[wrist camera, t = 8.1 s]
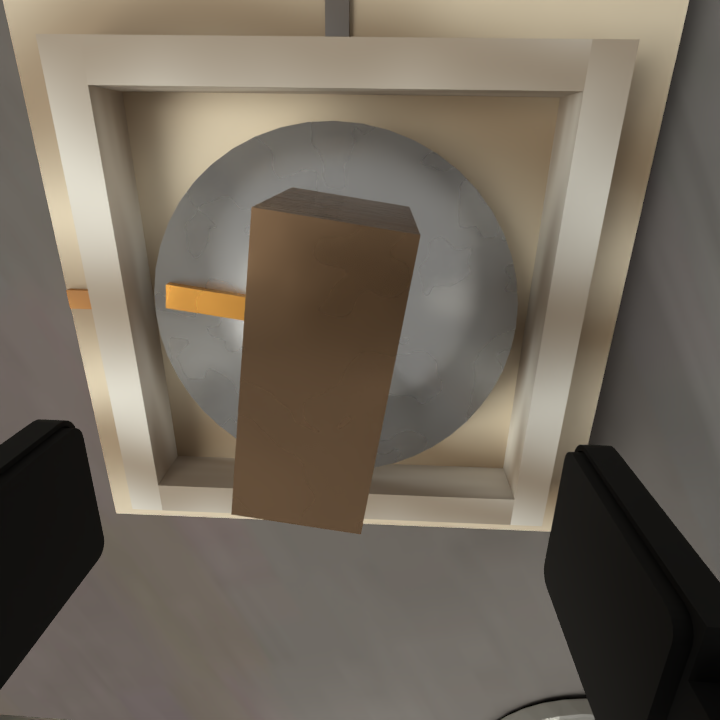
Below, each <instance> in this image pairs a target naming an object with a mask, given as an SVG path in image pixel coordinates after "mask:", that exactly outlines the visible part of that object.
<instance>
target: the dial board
mask: <svg viewBox="0 0 720 720" xmlns="http://www.w3.org/2000/svg"><path fill="white" fill-rule="evenodd" d="M3 3H4V7H5V12H6V16H7V21H8V26H9V30H10V35H11V39H12V44H13V48H14V53H15V57H16V62H17V66H18V71H19V75H20V80H21V84H22V89H23V93H24V98H25V102H26V107H27V111H28V116H29V120H30V125H31V129H32V134H33V138H34V143H35V147H36V152H37V157H38V161H39V166H40V170H41V175H42V179H43V184H44V188H45V193H46V197H47V202H48V206H49V211H50V215H51V220H52V224H53V229H54V233H55V238H56V242H57V247H58V251H59V256H60V260H61V265H62V269H63V274H64V279H65V283H66V288H67V290H66V291H67V296H68V300H69V305H70V309H71V310H72V315H73V319H74V324H75V328H76V333H77V337H78V342H79V346H80V351H81V355H82V360H83V364H84V369H85V373H86V378H87V382H88V387H89V391H90V396H91V400H92V405H93V410H94V414H95V419H96V423H97V428H98V432H99V437H100V441H101V446H102V450H103V455H104V459H105V464H106V468H107V473H108V477H109V482H110V486H111V491H112V495H113V500H114V504H115V509H116V513H122V514H146V515H170V516H193V517H217V518H241V519H257V518H251V517H244V516H238V515H231V511H232V496H233V480H234V465H235V450H236V438H235V437H234V436H232V435H231V434H230V433H228V432H227V431H226V430H224V429H223V428H222V427H220V426H219V425H218V424H217V423H216V422H215V421H214V420H213V419H211V418H210V417H209V416H208V415H207V414H206V413H205V412H204V411H203V410H202V409H201V407H200V406H199V405H198V404H197V403H196V401H195V400H194V399H193V398H192V397H191V396H190V394H189V393H188V391H187V390H186V388H185V387H184V385H183V384H182V382H181V381H180V379H179V378H178V376H177V374H176V372H175V370H174V368H173V366H172V364H171V362H170V360H169V358H168V355H167V353H166V350H165V347H164V344H163V341H162V338H161V335H160V331H159V326H158V321H157V316H156V307H155V294H154V288H155V271H156V264H157V259H158V254H159V249H160V245H161V242H162V239H163V236H164V234H165V231H166V228H167V225H168V223H169V221H170V219H171V217H172V215H173V213H174V211H175V209H176V207H177V206H178V204H179V202H180V200H181V199H182V198H183V196H184V195H185V194H186V192H187V191H188V190H189V188H190V187H191V185H192V184H193V183H194V182H195V181H196V179H197V178H198V177H199V176H200V175H201V174H202V173H203V172H204V171H205V170H206V169H207V168H208V167H209V166H210V165H211V164H213V163H214V162H215V161H217V160H218V159H219V158H221V157H222V156H223V155H225V154H226V153H227V152H229V151H230V150H231V149H233V148H235V147H237V146H238V145H240V144H242V143H244V142H246V141H248V140H250V139H252V138H253V137H255V136H258V135H261V134H264V133H266V132H269V131H272V130H275V129H278V128H280V127H285V126H290V125H295V124H300V123H305V122H320V121H342V122H352V123H362V124H366V125H370V126H374V127H378V128H383V129H387V130H390V131H392V132H395V133H397V134H400V135H402V136H405V137H407V138H410V139H412V140H415V141H416V142H418V143H420V144H421V145H423V146H425V147H427V148H428V149H430V150H432V151H433V152H435V153H437V154H438V155H440V156H441V157H442V158H443V159H445V160H446V161H447V162H449V163H450V164H451V165H452V166H454V167H455V168H456V169H457V170H459V171H460V172H461V173H462V174H463V176H464V177H465V178H466V179H467V180H468V181H469V182H470V183H471V184H472V185H473V186H474V187H475V188H476V189H477V190H478V192H479V193H480V195H481V196H482V197H483V199H484V200H485V202H486V203H487V204H488V206H489V207H490V209H491V210H492V212H493V214H494V215H495V217H496V219H497V221H498V223H499V225H500V227H501V229H502V231H503V233H504V236H505V238H506V241H507V244H508V247H509V250H510V253H511V256H512V260H513V265H514V270H515V275H516V280H517V297H518V309H517V321H516V329H515V334H514V338H513V342H512V347H511V350H510V353H509V356H508V358H507V361H506V364H505V366H504V369H503V371H502V373H501V375H500V377H499V379H498V381H497V382H496V384H495V386H494V388H493V390H492V391H491V392H490V394H489V395H488V397H487V398H486V400H485V401H484V402H483V404H482V405H481V406H480V408H479V409H478V410H477V411H476V412H475V413H474V414H473V415H472V416H471V417H470V418H469V419H468V421H467V422H466V423H464V424H463V425H462V426H461V427H460V428H458V429H457V430H456V431H455V432H454V433H452V434H451V435H450V436H449V437H447V438H445V439H444V440H442V441H441V442H439V443H438V444H436V445H435V446H433V447H431V448H429V449H427V450H425V451H423V452H421V453H419V454H417V455H415V456H413V457H410V458H407V459H404V460H402V461H399V462H396V463H392V464H388V465H384V466H380V467H375V468H374V471H373V476H372V481H371V486H370V491H369V496H368V501H367V506H366V511H365V516H364V521H363V524H383V525H406V526H430V527H454V528H477V529H501V530H525V531H548V532H551V527H552V522H553V516H554V511H555V506H556V500H557V495H558V490H559V485H560V479H561V474H562V469H563V463H564V459H565V455H566V454H567V453H568V452H575V449H576V447H577V446H578V445H588V442H589V437H590V433H591V429H592V424H593V420H594V416H595V411H596V407H597V402H598V398H599V394H600V389H601V385H602V381H603V376H604V372H605V367H606V363H607V359H608V354H609V350H610V346H611V341H612V337H613V332H614V328H615V324H616V319H617V315H618V310H619V306H620V302H621V297H622V293H623V289H624V284H625V280H626V275H627V271H628V267H629V262H630V258H631V254H632V249H633V245H634V240H635V236H636V232H637V227H638V223H639V218H640V214H641V210H642V205H643V201H644V197H645V192H646V188H647V183H648V179H649V175H650V170H651V166H652V162H653V157H654V153H655V148H656V144H657V140H658V135H659V131H660V126H661V122H662V118H663V113H664V109H665V105H666V100H667V96H668V91H669V87H670V83H671V78H672V74H673V70H674V65H675V61H676V56H677V52H678V48H679V43H680V39H681V34H682V30H683V26H684V21H685V17H686V13H687V8H688V4H689V0H3Z"/></svg>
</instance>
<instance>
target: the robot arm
mask: <svg viewBox="0 0 720 720" xmlns="http://www.w3.org/2000/svg"><path fill="white" fill-rule="evenodd" d="M103 547H104V536H103V531H102V526H101V521H100V516H99V511H98V507H97V502H96V497H95V492H94V487H93V482H92V477H91V472H90V467H89V463H88V458H87V453H86V448H85V443H84V438H83V435H82V432H81V431H80V430H79V429H77V428H75V426H74V425H73V424H72V423H71V422H70V421H62V420H36V421H34V422H32V423H31V424H29V425H28V426H26V427H25V428H23V429H22V430H21V431H19V432H18V433H16V434H15V435H14V436H12V437H11V438H9V439H8V440H6V441H5V442H4V443H2V444H1V445H0V689H1V688H2V687H3V685H4V684H5V683H6V681H7V680H8V679H9V677H10V676H11V675H12V674H13V672H14V671H15V670H16V668H17V667H18V666H19V664H20V663H21V662H22V660H23V659H24V658H25V656H26V655H27V654H28V652H29V651H30V650H31V648H32V647H33V646H34V644H35V643H36V642H37V640H38V639H39V638H40V636H41V635H42V634H43V632H44V631H45V630H46V628H47V627H48V626H49V624H50V623H51V622H52V620H53V619H54V618H55V616H56V615H57V614H58V612H59V611H60V610H61V608H62V607H63V606H64V604H65V603H66V602H67V600H68V599H69V598H70V596H71V595H72V594H73V593H74V591H75V590H76V589H77V587H78V586H79V585H80V583H81V582H82V581H83V579H84V578H85V577H86V575H87V574H88V573H89V571H90V570H91V569H92V567H93V566H94V565H95V563H96V562H97V561H98V559H99V558H100V556H101V554H102V551H103ZM544 577H545V583H546V586H547V589H548V592H549V595H550V597H551V600H552V603H553V606H554V608H555V611H556V614H557V617H558V619H559V622H560V625H561V628H562V630H563V633H564V636H565V639H566V641H567V644H568V647H569V650H570V652H571V655H572V658H573V661H574V663H575V666H576V669H577V672H578V674H579V677H580V680H581V683H582V685H583V688H584V691H585V694H586V696H587V698H585V699H563V700H557V701H551V702H544V703H540V704H537V705H534V706H530V707H527V708H523V709H521V710H519V711H517V712H514V713H512V714H510V715H508V716H506V717H504V718H502V719H501V720H720V582H719V581H718V580H717V578H716V577H715V576H714V574H713V573H712V572H711V571H710V569H709V568H708V567H707V566H706V564H705V563H704V562H703V560H702V559H701V558H700V557H699V555H698V554H697V553H696V552H695V550H694V549H693V548H692V546H691V545H690V544H689V543H688V541H687V540H686V539H685V538H684V536H683V535H682V534H681V532H680V531H679V530H678V529H677V527H676V526H675V525H674V523H673V522H672V521H671V520H670V518H669V517H668V516H667V515H666V513H665V512H664V511H663V509H662V508H661V507H660V506H659V504H658V503H657V502H656V501H655V499H654V498H653V497H652V495H651V494H650V493H649V492H648V490H647V489H646V488H645V487H644V485H643V484H642V483H641V481H640V480H639V479H638V478H637V476H636V475H635V474H634V472H633V471H632V470H631V469H630V467H629V466H628V465H627V464H626V462H625V461H624V460H623V458H622V457H621V456H620V455H619V453H618V452H617V451H616V450H615V449H614V448H613V447H612V446H600V445H578V446H577V447H576V449H575V452H568V453H567V454H566V455H565V459H564V463H563V469H562V474H561V479H560V485H559V490H558V495H557V500H556V506H555V511H554V516H553V522H552V527H551V532H550V538H549V543H548V548H547V554H546V559H545V565H544ZM0 720H66V719H52V718H38V717H24V716H11V715H0Z"/></svg>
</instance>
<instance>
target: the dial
mask: <svg viewBox="0 0 720 720" xmlns="http://www.w3.org/2000/svg"><path fill="white" fill-rule="evenodd" d="M154 294H155V307H156V316H157V321H158V326H159V331H160V335H161V338H162V341H163V344H164V347H165V350H166V353H167V355H168V358H169V360H170V362H171V364H172V366H173V368H174V370H175V372H176V374H177V376H178V378H179V379H180V381H181V382H182V384H183V385H184V387H185V388H186V390H187V391H188V393H189V394H190V396H191V397H192V398H193V399H194V400H195V401H196V403H197V404H198V405H199V406H200V407H201V409H202V410H203V411H204V412H205V413H206V414H207V415H208V416H209V417H210V418H211V419H213V420H214V421H215V422H216V423H217V424H218V425H219V426H220V427H222V428H223V429H224V430H226V431H227V432H228V433H230V434H231V435H232V436H234V437H235V438H236V450H235V465H234V480H233V496H232V511H231V515H238V516H244V517H251V518H257V519H264V520H270V521H277V522H284V523H290V524H297V525H303V526H310V527H316V528H323V529H329V530H336V531H343V532H349V533H356V534H361V531H362V526H363V521H364V516H365V511H366V506H367V501H368V496H369V491H370V486H371V481H372V476H373V471H374V468H375V467H380V466H384V465H388V464H392V463H396V462H399V461H402V460H404V459H407V458H410V457H413V456H415V455H417V454H419V453H421V452H423V451H425V450H427V449H429V448H431V447H433V446H435V445H436V444H438V443H439V442H441V441H442V440H444V439H445V438H447V437H449V436H450V435H451V434H452V433H454V432H455V431H456V430H457V429H458V428H460V427H461V426H462V425H463V424H464V423H466V422H467V421H468V419H469V418H470V417H471V416H472V415H473V414H474V413H475V412H476V411H477V410H478V409H479V408H480V406H481V405H482V404H483V402H484V401H485V400H486V398H487V397H488V395H489V394H490V392H491V391H492V390H493V388H494V386H495V384H496V382H497V381H498V379H499V377H500V375H501V373H502V371H503V369H504V366H505V364H506V361H507V358H508V356H509V353H510V350H511V347H512V342H513V338H514V334H515V329H516V321H517V309H518V297H517V280H516V275H515V270H514V265H513V260H512V256H511V253H510V250H509V247H508V244H507V241H506V238H505V236H504V233H503V231H502V229H501V227H500V225H499V223H498V221H497V219H496V217H495V215H494V214H493V212H492V210H491V209H490V207H489V206H488V204H487V203H486V202H485V200H484V199H483V197H482V196H481V195H480V193H479V192H478V190H477V189H476V188H475V187H474V186H473V185H472V184H471V183H470V182H469V181H468V180H467V179H466V178H465V177H464V176H463V174H462V173H461V172H460V171H459V170H457V169H456V168H455V167H454V166H452V165H451V164H450V163H449V162H447V161H446V160H445V159H443V158H442V157H441V156H440V155H438V154H437V153H435V152H433V151H432V150H430V149H428V148H427V147H425V146H423V145H421V144H420V143H418V142H416V141H415V140H412V139H410V138H407V137H405V136H402V135H400V134H397V133H395V132H392V131H390V130H387V129H383V128H378V127H374V126H370V125H366V124H362V123H352V122H342V121H320V122H305V123H300V124H295V125H290V126H285V127H280V128H278V129H275V130H272V131H269V132H266V133H264V134H261V135H258V136H255V137H253V138H252V139H250V140H248V141H246V142H244V143H242V144H240V145H238V146H237V147H235V148H233V149H231V150H230V151H229V152H227V153H226V154H225V155H223V156H222V157H221V158H219V159H218V160H217V161H215V162H214V163H213V164H211V165H210V166H209V167H208V168H207V169H206V170H205V171H204V172H203V173H202V174H201V175H200V176H199V177H198V178H197V179H196V181H195V182H194V183H193V184H192V185H191V187H190V188H189V190H188V191H187V192H186V194H185V195H184V196H183V198H182V199H181V200H180V202H179V204H178V206H177V207H176V209H175V211H174V213H173V215H172V217H171V219H170V221H169V223H168V225H167V228H166V231H165V234H164V236H163V239H162V242H161V245H160V249H159V254H158V259H157V264H156V271H155V288H154Z"/></svg>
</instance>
